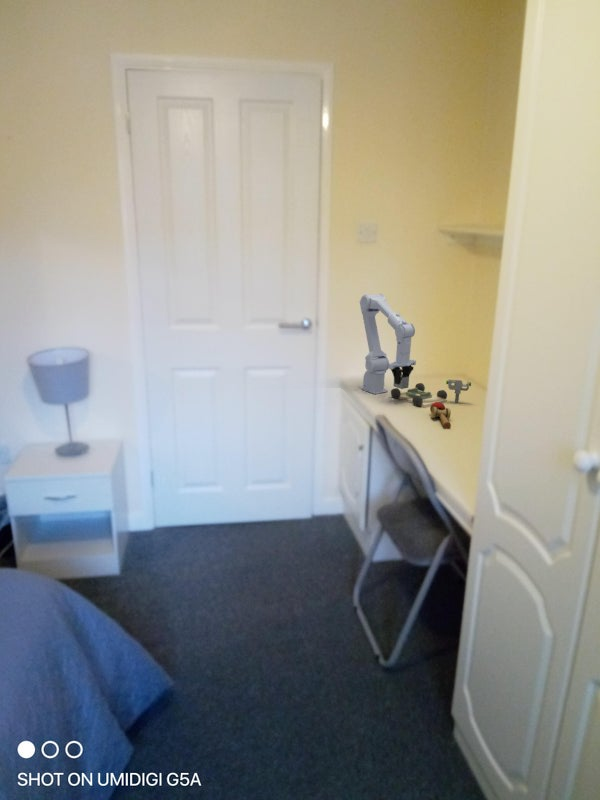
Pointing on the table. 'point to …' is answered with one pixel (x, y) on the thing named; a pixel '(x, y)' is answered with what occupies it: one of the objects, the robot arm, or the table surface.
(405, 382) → the block
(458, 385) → the mechanical component
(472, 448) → the table surface
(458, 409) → the table surface
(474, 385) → the table surface
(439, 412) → the kendama
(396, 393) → the chassis
